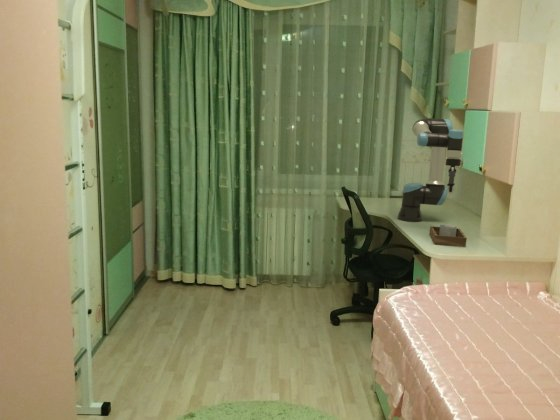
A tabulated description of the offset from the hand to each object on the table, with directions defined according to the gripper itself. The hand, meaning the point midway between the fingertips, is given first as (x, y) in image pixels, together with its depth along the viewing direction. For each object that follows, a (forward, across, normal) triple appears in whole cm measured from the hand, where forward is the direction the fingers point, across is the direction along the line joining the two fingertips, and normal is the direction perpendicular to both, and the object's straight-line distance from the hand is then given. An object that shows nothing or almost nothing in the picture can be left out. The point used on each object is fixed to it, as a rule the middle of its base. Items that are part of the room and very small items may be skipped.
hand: (449, 197), depth 291 cm
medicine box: (+24, -1, -1) cm, 24 cm away
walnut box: (+24, -1, -1) cm, 24 cm away
